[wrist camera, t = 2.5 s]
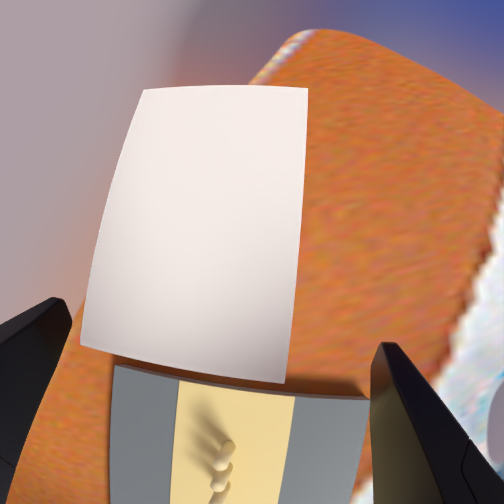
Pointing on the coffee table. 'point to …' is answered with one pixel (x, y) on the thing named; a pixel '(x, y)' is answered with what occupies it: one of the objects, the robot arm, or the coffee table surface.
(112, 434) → the board
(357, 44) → the coffee table surface
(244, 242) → the panel
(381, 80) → the coffee table surface
